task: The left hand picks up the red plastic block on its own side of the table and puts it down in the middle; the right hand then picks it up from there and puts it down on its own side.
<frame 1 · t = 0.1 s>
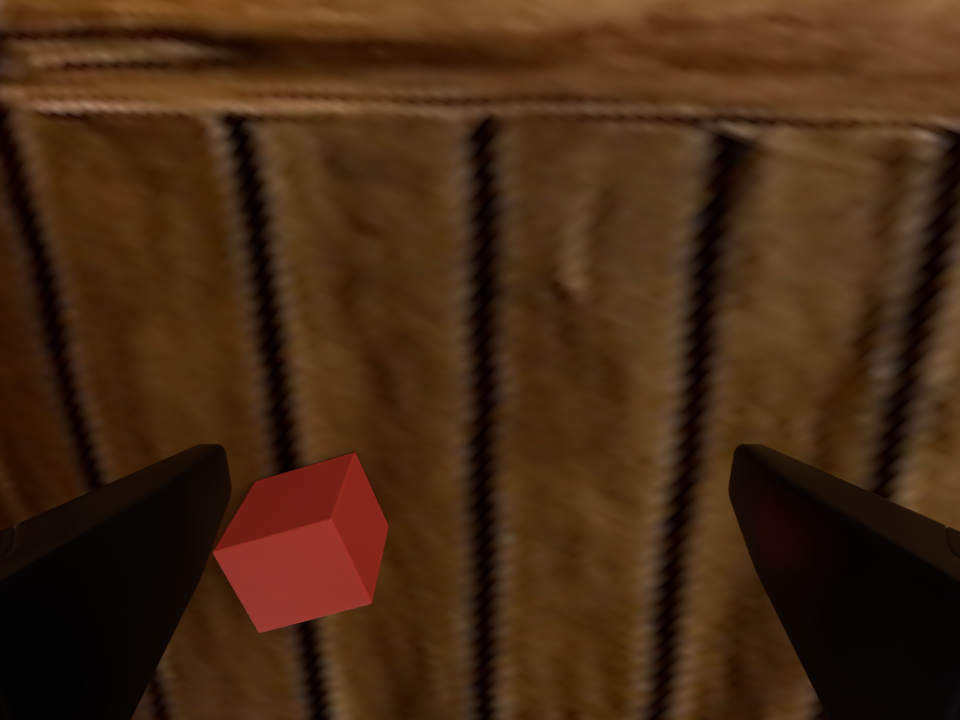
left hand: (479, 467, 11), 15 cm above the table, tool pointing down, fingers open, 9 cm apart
block: (323, 503, 29), on the table
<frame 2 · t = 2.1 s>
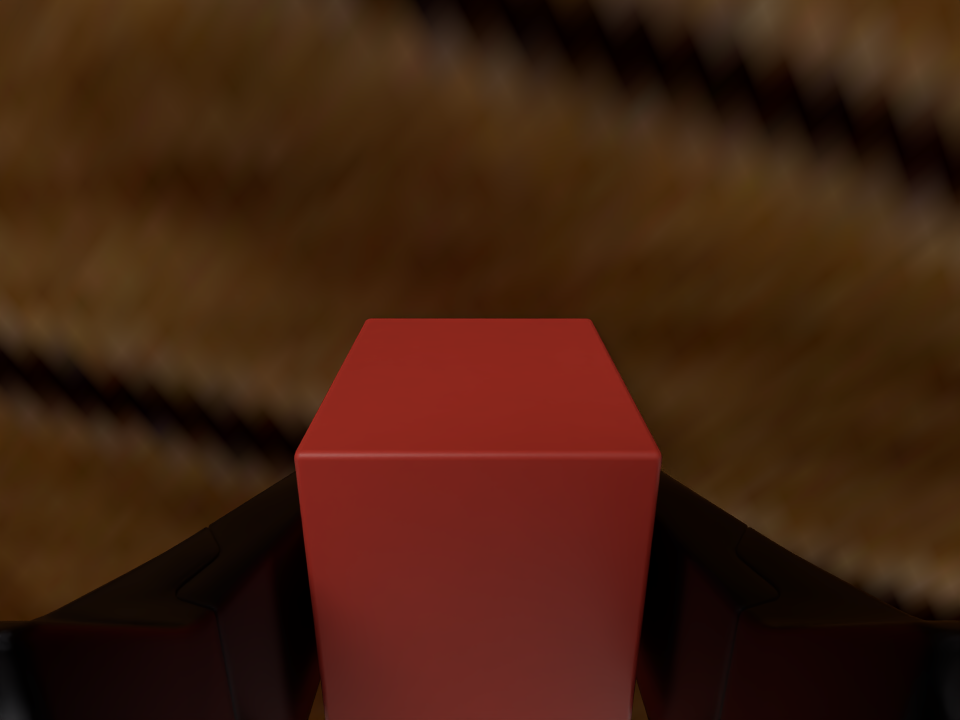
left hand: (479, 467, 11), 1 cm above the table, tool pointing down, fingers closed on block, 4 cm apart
block: (478, 434, 12), on the table, touching left hand
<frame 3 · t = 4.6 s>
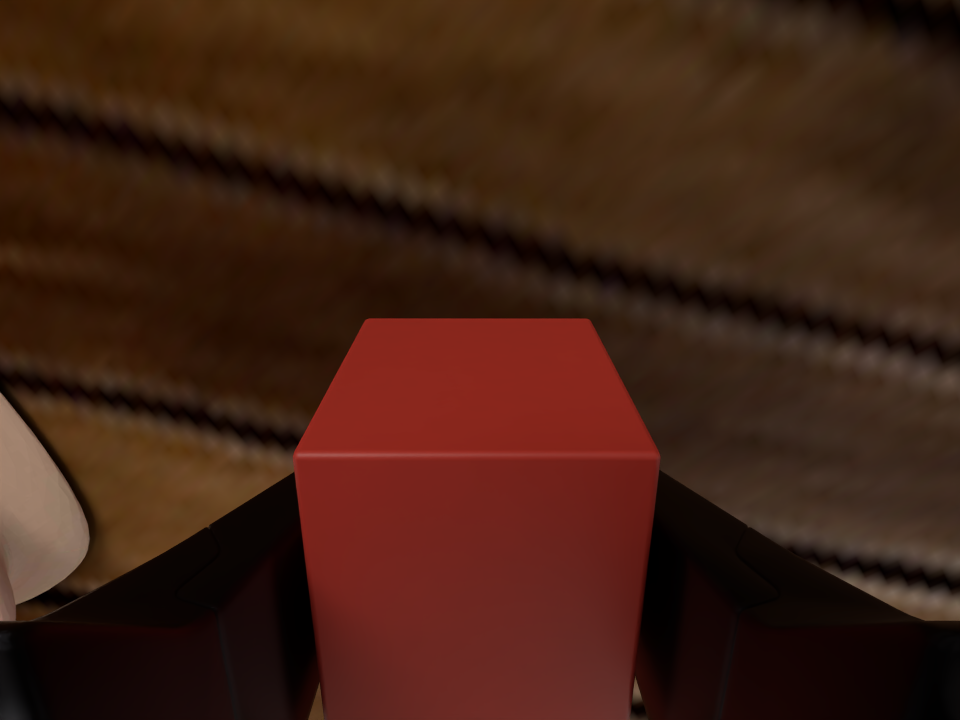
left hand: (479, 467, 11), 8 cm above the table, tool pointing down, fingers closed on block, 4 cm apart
block: (477, 434, 12), point 7 cm above the table, touching left hand
when the left hand's fingers open (2 cm above the table, at t = 6.9 s): block stays where it is, on the table.
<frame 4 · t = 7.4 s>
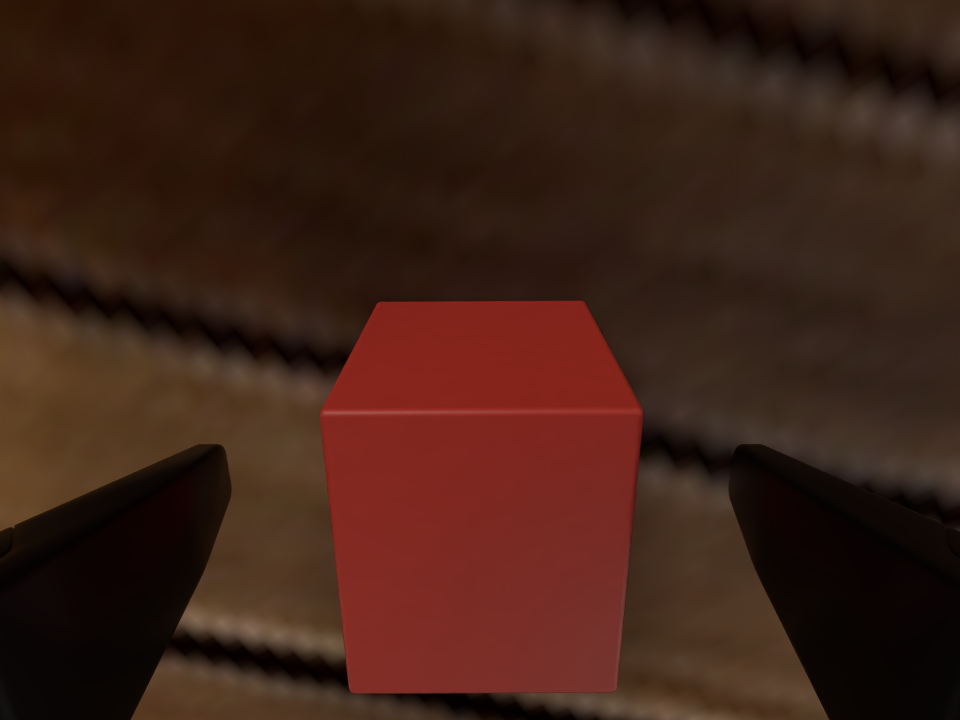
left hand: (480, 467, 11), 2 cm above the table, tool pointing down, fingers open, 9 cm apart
block: (481, 410, 13), on the table
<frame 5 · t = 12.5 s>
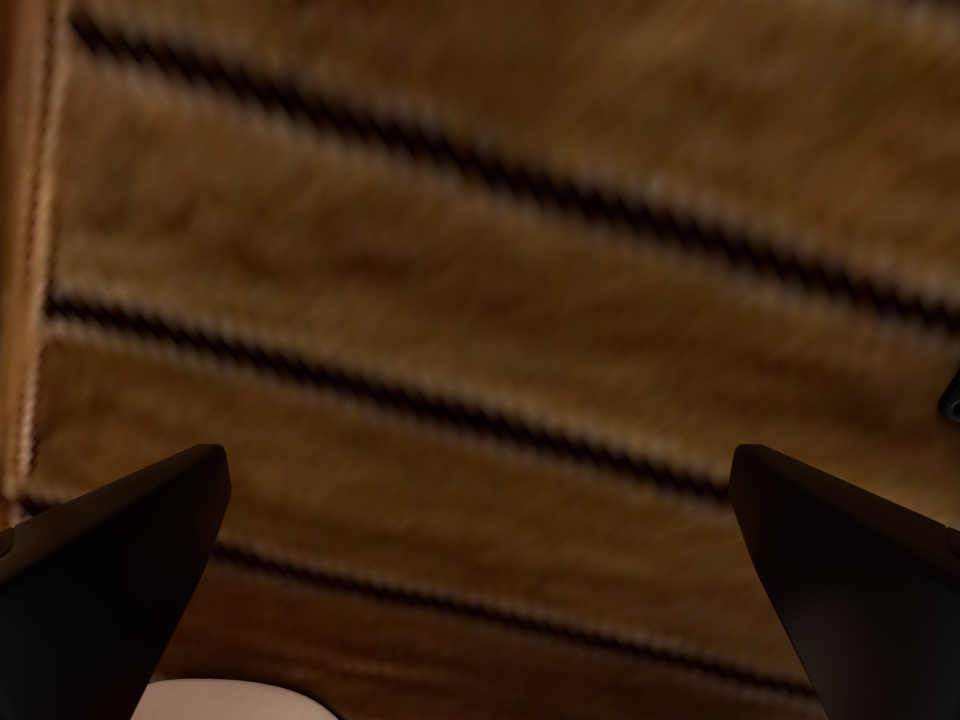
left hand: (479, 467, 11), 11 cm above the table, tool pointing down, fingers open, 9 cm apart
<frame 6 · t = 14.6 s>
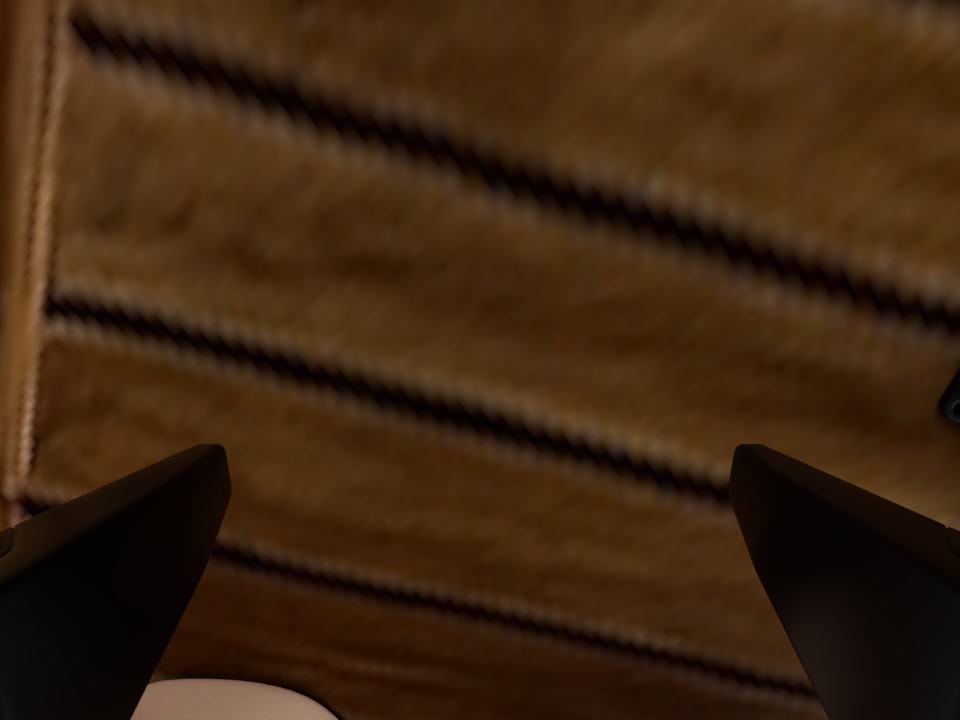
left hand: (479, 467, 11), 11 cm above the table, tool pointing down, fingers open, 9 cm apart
when the right hand's fingers open (2 cm above the table, at t = 17.0 s): block stays where it is, on the table.
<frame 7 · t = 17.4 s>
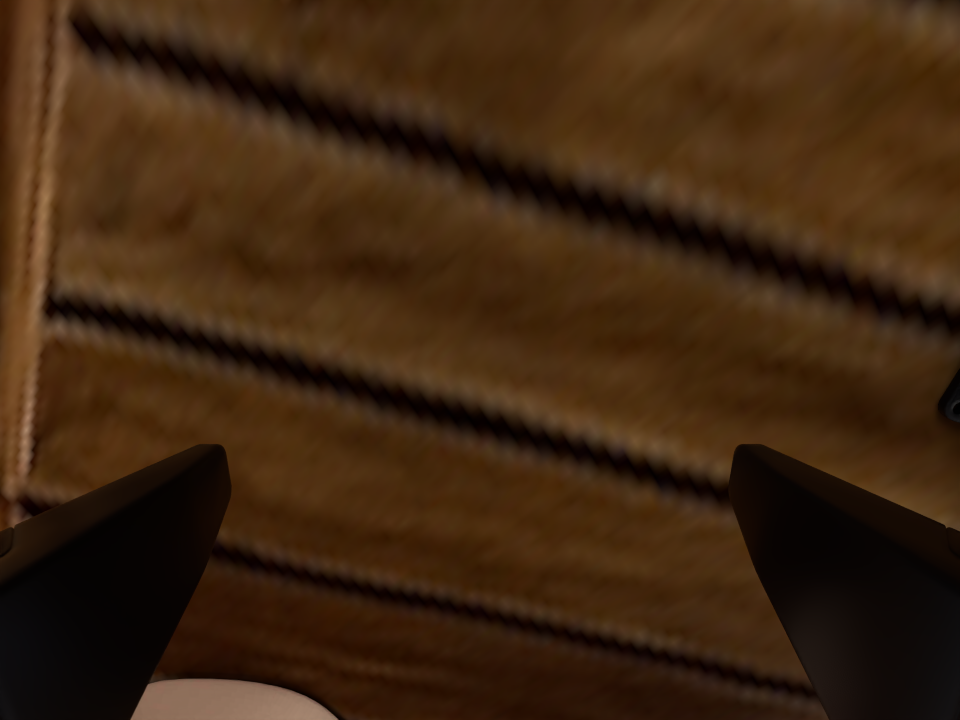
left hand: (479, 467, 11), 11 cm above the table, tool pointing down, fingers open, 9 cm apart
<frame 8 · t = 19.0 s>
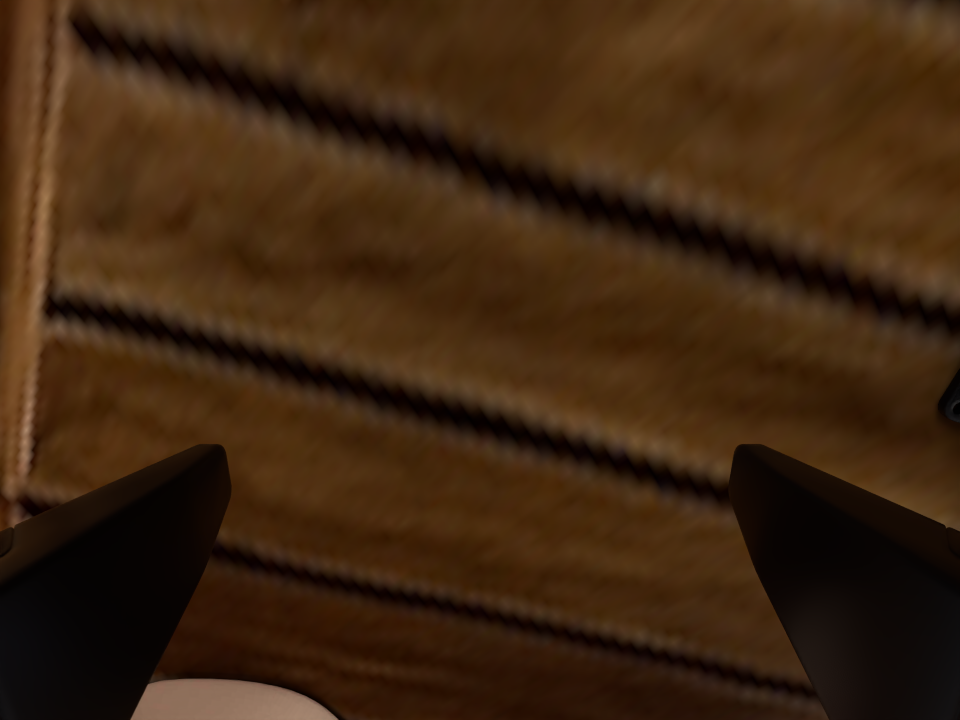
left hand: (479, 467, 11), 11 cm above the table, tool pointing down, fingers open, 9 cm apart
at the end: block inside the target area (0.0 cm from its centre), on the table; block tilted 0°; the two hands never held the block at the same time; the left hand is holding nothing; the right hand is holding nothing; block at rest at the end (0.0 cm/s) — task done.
